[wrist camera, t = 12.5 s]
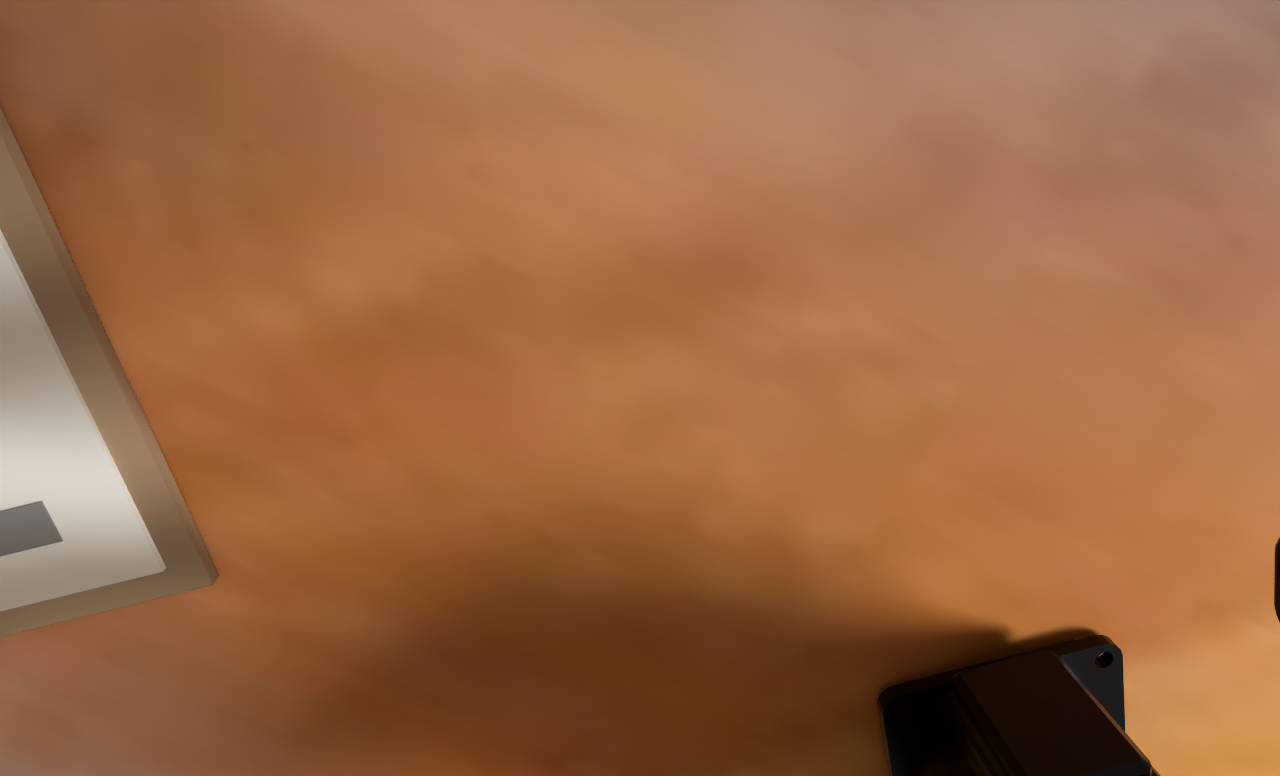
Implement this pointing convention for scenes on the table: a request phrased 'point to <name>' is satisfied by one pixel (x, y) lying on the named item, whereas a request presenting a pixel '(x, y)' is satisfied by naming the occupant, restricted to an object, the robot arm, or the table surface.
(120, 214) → the table surface
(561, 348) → the table surface
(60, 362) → the clipboard
